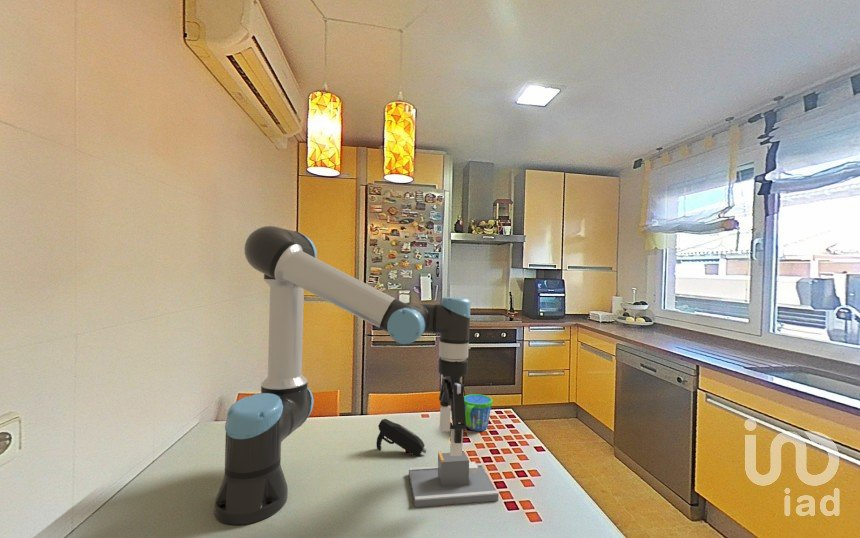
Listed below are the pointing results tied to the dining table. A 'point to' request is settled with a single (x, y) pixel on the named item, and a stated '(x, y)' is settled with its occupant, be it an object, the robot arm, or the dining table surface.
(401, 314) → the robot arm
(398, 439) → the gun
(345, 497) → the dining table surface
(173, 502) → the dining table surface
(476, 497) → the slate pad
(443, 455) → the block
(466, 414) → the snack cup
